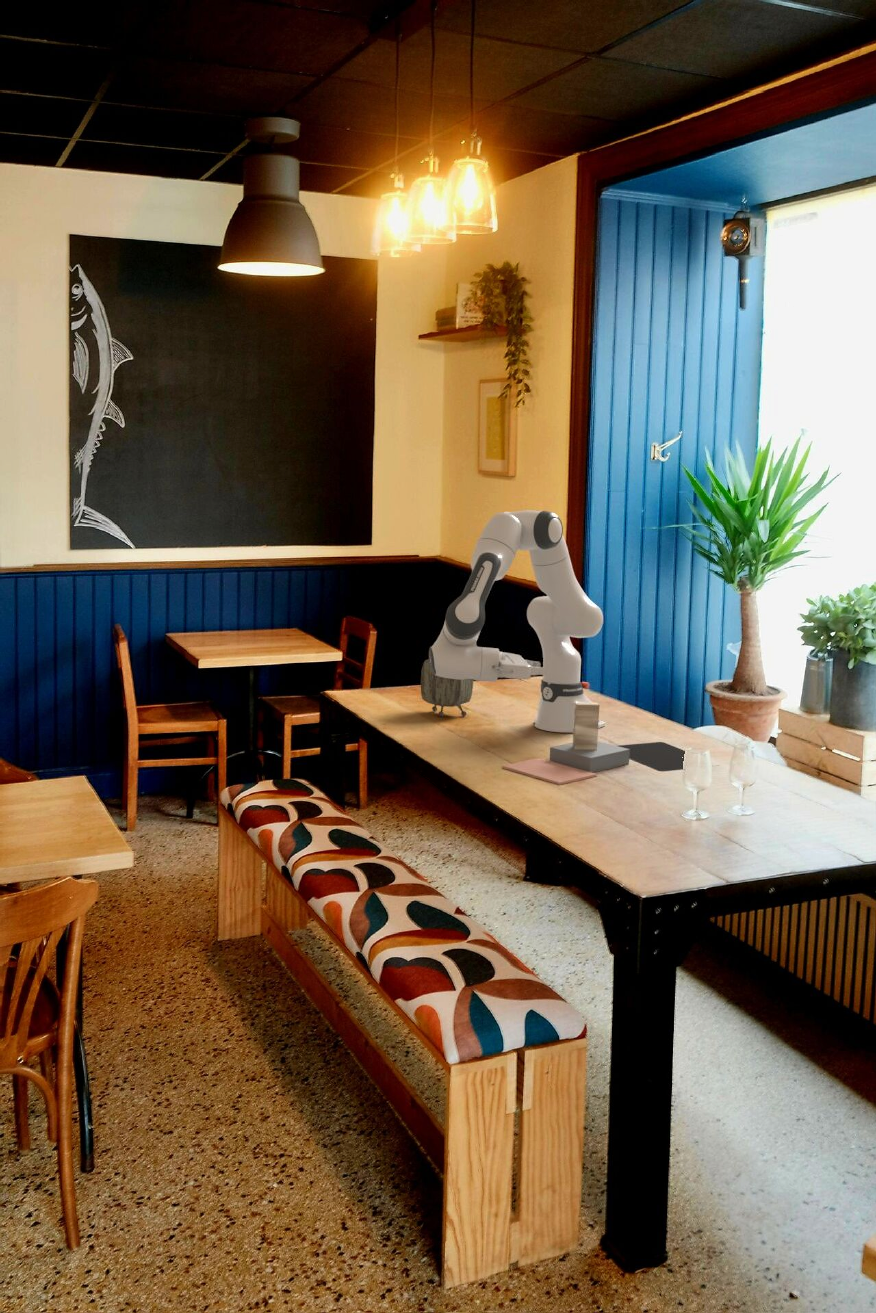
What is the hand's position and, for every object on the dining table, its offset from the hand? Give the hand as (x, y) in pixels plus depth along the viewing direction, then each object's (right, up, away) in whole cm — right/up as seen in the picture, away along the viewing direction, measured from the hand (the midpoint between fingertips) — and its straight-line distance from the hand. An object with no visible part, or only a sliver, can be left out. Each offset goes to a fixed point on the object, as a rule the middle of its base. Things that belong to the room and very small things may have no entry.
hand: (543, 668), depth 322 cm
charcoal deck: (+13, -25, +5) cm, 29 cm away
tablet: (+34, -25, +15) cm, 44 cm away
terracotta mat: (+1, -27, -6) cm, 27 cm away
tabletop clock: (-26, -15, +57) cm, 64 cm away
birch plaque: (+11, -21, +4) cm, 24 cm away
